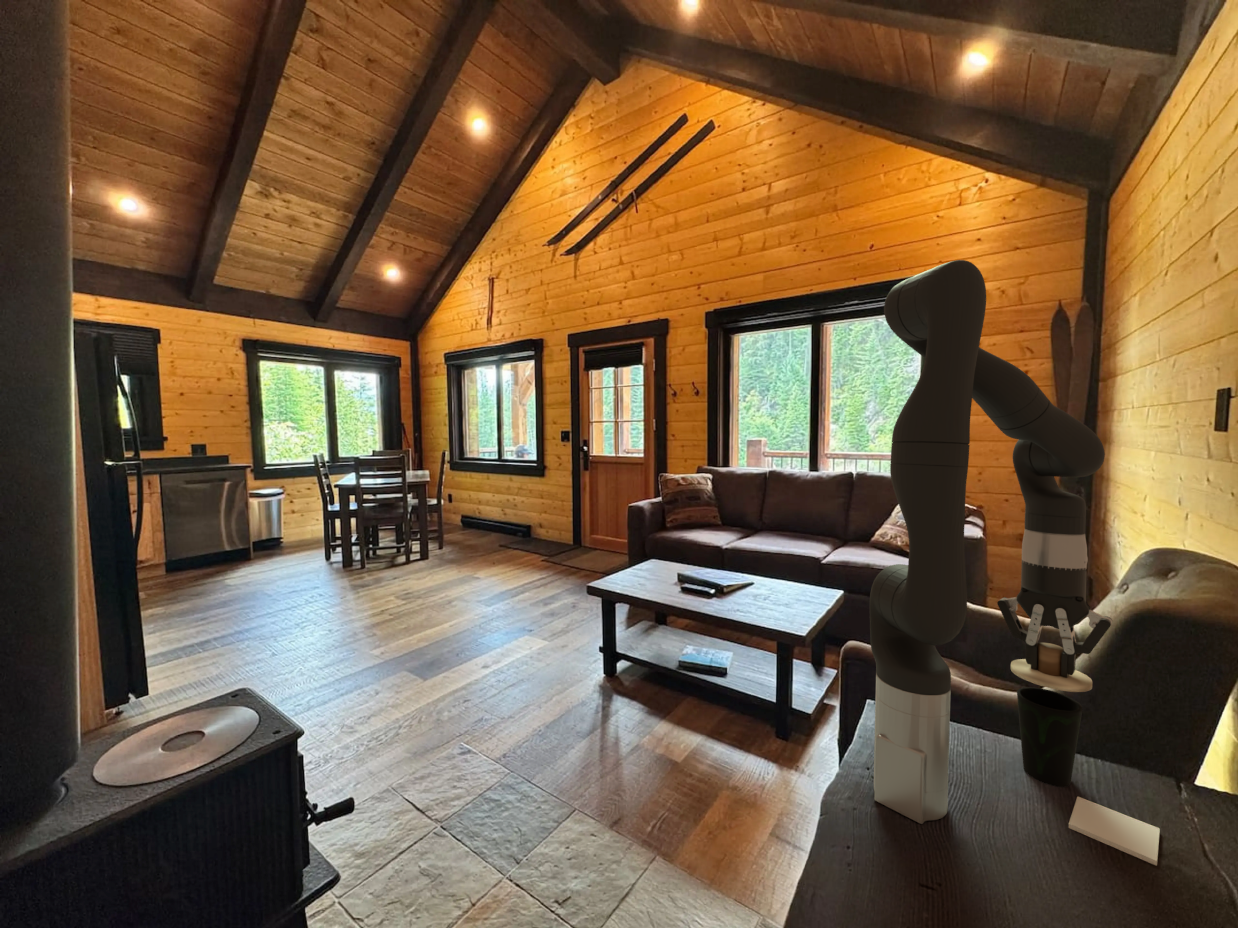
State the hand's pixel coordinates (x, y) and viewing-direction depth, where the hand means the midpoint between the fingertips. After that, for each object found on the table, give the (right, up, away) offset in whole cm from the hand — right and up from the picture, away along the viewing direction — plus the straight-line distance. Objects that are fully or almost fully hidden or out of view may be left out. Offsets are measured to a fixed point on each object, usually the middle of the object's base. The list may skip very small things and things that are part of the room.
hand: (1050, 671), depth 77 cm
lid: (0, -1, 0) cm, 1 cm away
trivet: (-1, -17, -11) cm, 20 cm away
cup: (0, -17, +1) cm, 17 cm away
